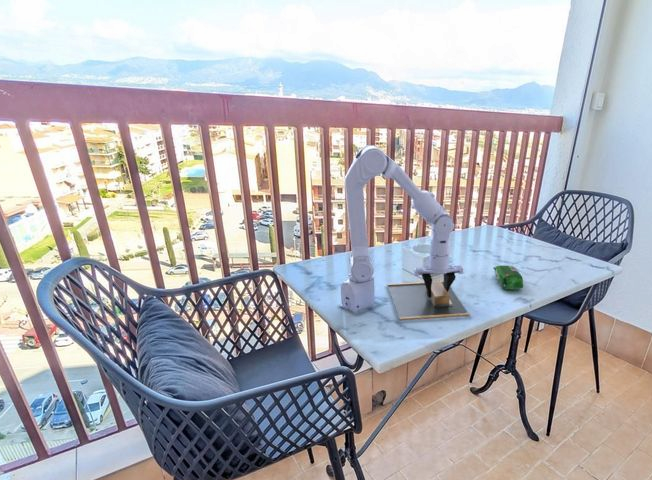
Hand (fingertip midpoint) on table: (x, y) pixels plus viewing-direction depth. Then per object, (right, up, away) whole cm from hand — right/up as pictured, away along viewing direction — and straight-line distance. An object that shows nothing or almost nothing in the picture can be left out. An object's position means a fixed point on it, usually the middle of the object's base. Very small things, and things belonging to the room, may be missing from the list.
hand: (437, 295), depth 122 cm
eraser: (0, -1, 0) cm, 1 cm away
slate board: (-4, -2, 0) cm, 4 cm away
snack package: (+25, +5, +14) cm, 29 cm away
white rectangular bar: (+3, -2, -2) cm, 4 cm away
